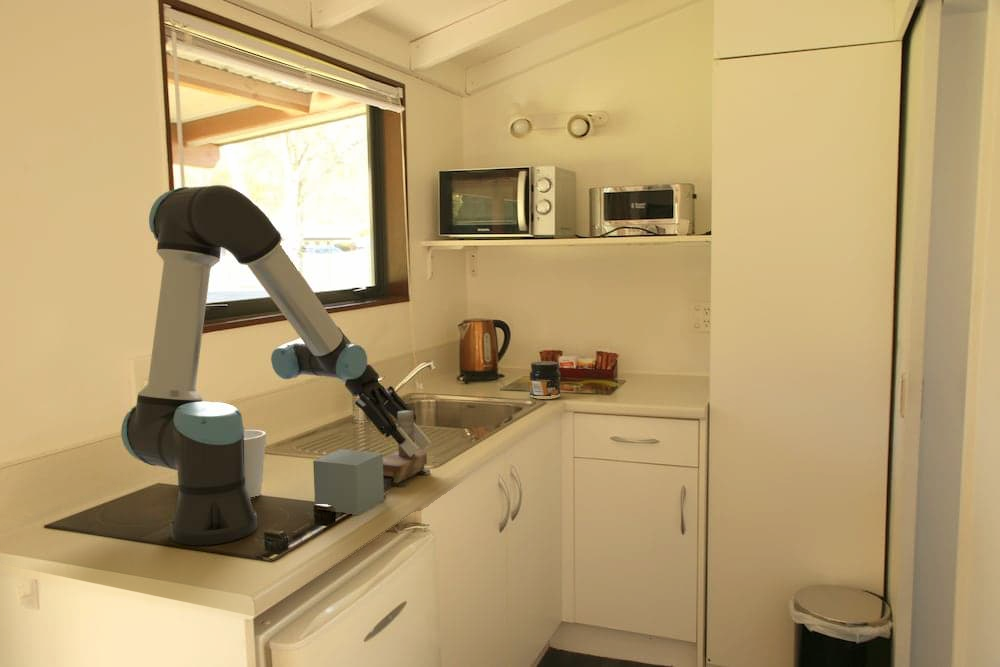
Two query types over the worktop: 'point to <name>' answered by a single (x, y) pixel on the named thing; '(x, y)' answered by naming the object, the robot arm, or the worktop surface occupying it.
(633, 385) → the worktop surface
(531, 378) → the supplement container
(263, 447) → the foam cup
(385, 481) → the rail
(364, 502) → the grey box
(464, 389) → the worktop surface
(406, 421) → the grey peg on base
